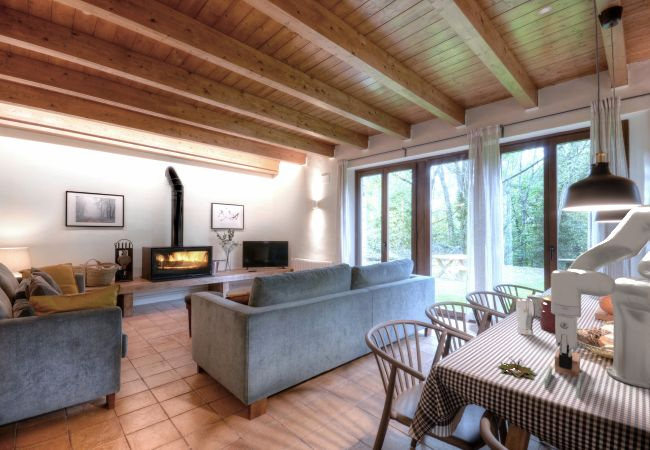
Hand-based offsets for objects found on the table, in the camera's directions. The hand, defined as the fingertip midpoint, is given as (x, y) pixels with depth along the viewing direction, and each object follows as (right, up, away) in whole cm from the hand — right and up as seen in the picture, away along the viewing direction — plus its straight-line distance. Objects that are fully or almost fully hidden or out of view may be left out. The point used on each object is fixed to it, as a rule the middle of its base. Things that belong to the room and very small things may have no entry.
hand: (565, 367), depth 96 cm
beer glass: (+13, -4, +40) cm, 42 cm away
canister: (+32, -4, +45) cm, 55 cm away
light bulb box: (+40, -4, +69) cm, 79 cm away
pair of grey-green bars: (-5, -3, -6) cm, 8 cm away
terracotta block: (+4, -3, +4) cm, 7 cm away
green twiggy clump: (-14, -3, +3) cm, 14 cm away
